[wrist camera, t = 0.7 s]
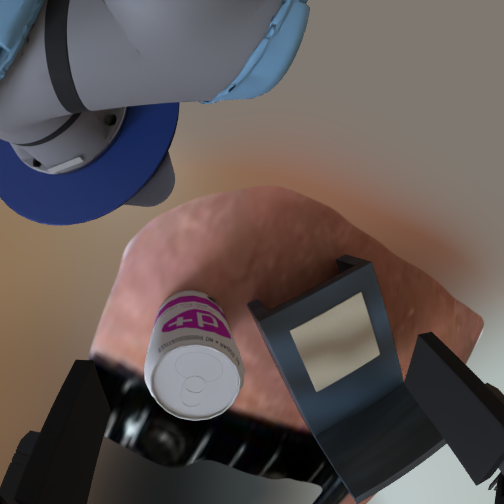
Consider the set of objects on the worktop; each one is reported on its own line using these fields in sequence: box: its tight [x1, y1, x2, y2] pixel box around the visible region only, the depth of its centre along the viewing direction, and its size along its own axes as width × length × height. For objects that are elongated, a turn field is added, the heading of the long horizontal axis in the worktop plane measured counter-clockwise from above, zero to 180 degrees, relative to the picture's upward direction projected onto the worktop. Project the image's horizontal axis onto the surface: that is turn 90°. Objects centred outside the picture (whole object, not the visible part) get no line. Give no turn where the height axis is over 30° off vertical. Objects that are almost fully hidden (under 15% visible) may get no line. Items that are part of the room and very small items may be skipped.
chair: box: [247, 254, 447, 504], centre depth 33 cm, size 20×14×18 cm
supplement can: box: [144, 290, 245, 421], centre depth 30 cm, size 8×8×15 cm
